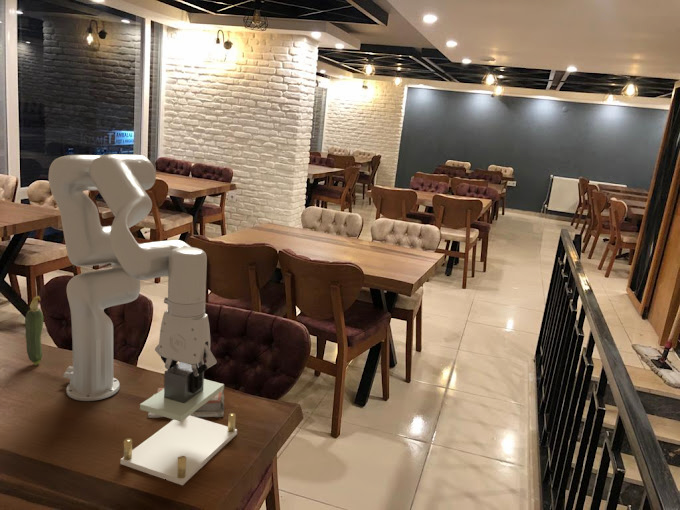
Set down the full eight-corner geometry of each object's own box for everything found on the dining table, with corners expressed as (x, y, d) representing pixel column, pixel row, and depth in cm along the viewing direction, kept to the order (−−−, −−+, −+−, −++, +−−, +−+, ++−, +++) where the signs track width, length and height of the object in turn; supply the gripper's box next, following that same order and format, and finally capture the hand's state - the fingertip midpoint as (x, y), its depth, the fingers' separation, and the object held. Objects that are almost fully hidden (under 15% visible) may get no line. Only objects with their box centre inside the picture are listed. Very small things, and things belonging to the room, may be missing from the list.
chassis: (120, 464, 115) (120, 441, 114) (182, 417, 135) (182, 398, 133) (182, 485, 110) (183, 462, 109) (237, 434, 130) (238, 414, 129)
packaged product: (225, 382, 145) (224, 401, 136) (224, 399, 146) (223, 419, 137) (153, 382, 141) (147, 401, 132) (152, 399, 143) (147, 419, 133)
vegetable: (23, 365, 153) (20, 296, 148) (34, 359, 157) (31, 292, 152) (37, 367, 152) (35, 298, 148) (48, 361, 156) (46, 294, 152)
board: (139, 409, 114) (140, 377, 112) (186, 379, 128) (187, 350, 127) (181, 421, 111) (181, 388, 109) (223, 389, 125) (225, 359, 124)
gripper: (140, 304, 114) (140, 385, 118) (212, 320, 109) (208, 404, 113) (163, 295, 121) (162, 372, 125) (231, 309, 116) (228, 389, 120)
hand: (184, 386), depth 119 cm, fingers closed on board, 5 cm apart
